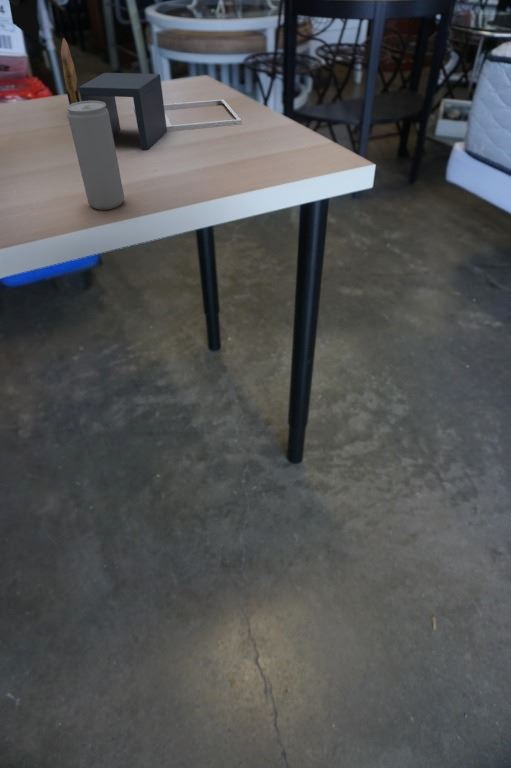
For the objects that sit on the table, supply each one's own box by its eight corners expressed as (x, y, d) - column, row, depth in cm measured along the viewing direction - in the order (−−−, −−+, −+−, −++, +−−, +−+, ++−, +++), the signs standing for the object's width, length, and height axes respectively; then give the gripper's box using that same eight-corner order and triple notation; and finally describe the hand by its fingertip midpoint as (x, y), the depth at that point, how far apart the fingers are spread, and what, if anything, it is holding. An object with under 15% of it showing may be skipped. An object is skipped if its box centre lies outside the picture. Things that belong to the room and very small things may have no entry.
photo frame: (133, 105, 104) (223, 98, 107) (134, 111, 104) (223, 104, 108) (141, 127, 93) (241, 118, 97) (142, 134, 94) (241, 125, 97)
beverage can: (125, 195, 73) (107, 99, 65) (125, 209, 70) (106, 109, 62) (89, 198, 73) (67, 101, 65) (87, 212, 69) (63, 112, 61)
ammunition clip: (74, 107, 108) (58, 37, 100) (83, 106, 108) (68, 36, 100) (73, 121, 100) (56, 47, 92) (83, 121, 100) (67, 46, 92)
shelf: (91, 147, 89) (78, 87, 83) (114, 129, 96) (104, 72, 90) (147, 149, 87) (138, 88, 81) (167, 131, 95) (160, 73, 89)
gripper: (-42, -220, 33) (13, 76, 52) (196, -288, 44) (170, -21, 63) (-136, -290, 33) (-47, 31, 53) (125, -340, 44) (120, -59, 63)
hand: (71, 3), depth 58 cm, fingers open, 13 cm apart
